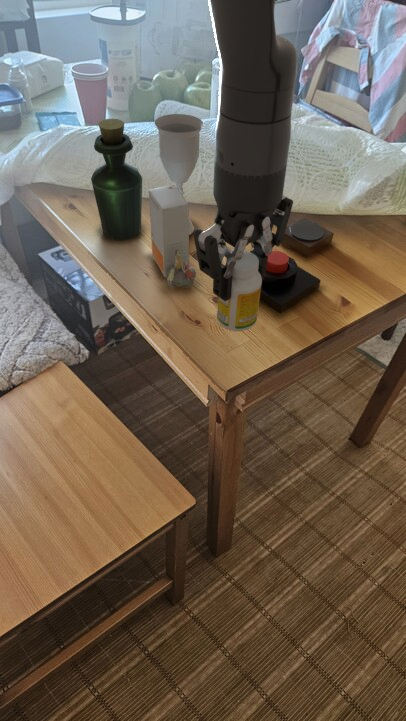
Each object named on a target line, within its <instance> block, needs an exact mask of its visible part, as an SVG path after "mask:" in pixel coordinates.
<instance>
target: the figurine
mask: <svg viewBox="0 0 406 721" xmlns="http://www.w3.org/2000/svg"><path fill="white" fill-rule="evenodd" d="M180 257H181V254H180V252H179V250H176V253H175V260H176V262H175V265H173V266H171V267H170V268H168V270H167V272H166V276H167V277H166V278H167V280H166V281H167V282H166V284H168V287H169V288H171V289H174V288H182V289H191V287H192V286H193V284H194V283H195V282H194V281H195V279H196V277H197V272H196V268H194V267H193V266H192V265H190V264H189V265H187V264H188V263H187V261H184V264H183V261H182V257H181V258H180ZM176 258H177V259H176Z"/></svg>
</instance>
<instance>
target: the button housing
mask: <svg viewBox="0 0 406 721" xmlns="http://www.w3.org/2000/svg"><path fill="white" fill-rule="evenodd" d="M288 257H289V262H288V268H287V271H286V272H284V273H279V274H275V273H270V272H268V271H266V272H265V277H264V279H263V280H262V284H261V292H260V299H259V301H260V302H262V303H263V304H265V305H267V306H268V307H270V309H272V310H274V311H275V312H277V313H278V314H282V313H283V312H285V311H286V310H288V309H289V308H291V307H293V306H294V305H296V304H298V303H299V302H300V301H302V300H304V299H305V298H306V297H308V296H309V295H311V294H312V293H314V292H317V290H318V289H320V285H321V281H322V280H321V279H320V278H318V277H317V276H315V275H313V274H311V273H310V272H308V271H307V270H305V269H304V268H302V267H300V266H299V265H298V264H297V262H296V261H295V259H294V258H293V257H291V256H289V255H288Z"/></svg>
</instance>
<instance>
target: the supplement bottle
mask: <svg viewBox="0 0 406 721" xmlns="http://www.w3.org/2000/svg"><path fill="white" fill-rule="evenodd" d="M226 261H227V258H226V257H225V262H226ZM258 266H259V260H258V258H257V256H256V255H254V254H253V253H250V251H247V250H244V252H243V255H242V258H241V260H239V261H236V264H235V267H234V269H233V272H232V290H231V298H230V299H229V300H227V301H224V300H222V299H221V298H219V297H218V296H217V307H216V308H217V309H216V318H217V322H218V324H219V325H220V326H221V327H222V328H223V329H225V330H227V331H230V332H245V331H247V330H250V329H251V328H253V327H254V326H255V325H256V324H257V321H258V315H259V314H258V313H259V306H260V300H259V299H260V292H261V284H262V278H261V275H260V273H259V272H258Z"/></svg>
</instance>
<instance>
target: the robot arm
mask: <svg viewBox="0 0 406 721" xmlns="http://www.w3.org/2000/svg"><path fill="white" fill-rule="evenodd" d="M291 1H292V0H207V2H208V6H209V11H210V16H211V21H212V28H213V32H214V33H213V34H214V38H215V43H216V48H217V51H218V57H219V64H220V68H219V69H220V71H219V88H218V90H219V91H218V95H219V96H218V112H217V120H216V125H215V131H214V132H215V134H214V159H213V160H214V161H213V162H214V163H213V187H212V188H213V189H212V190H213V191H212V192H213V194H212V196H213V198H214V201H215V203H216V207H217V212H216V216H215V217H214V221H213V225H212V226H210V227H209V228H208V229H206V230H203V229H202V228H197V229H196V230H194V232H193V241H194V246H195V250H196V251H195V252H196V258H197V262H198V269H199V271H200V272H202V273H203V274H205V275H207V277H209V278H211V279H212V281H213V282H212V293H213V294H214V295H215V296H217V298H218V297H219V298H221V299H222V300H224V301H227V300H229V299H230V298H231V290H232V272H233V269H234V267H235V264H236V261H239V260H241V258H242V255H243V252H244V251H246V250H245V249H246V247H247V246H248V245H249V244H250V245H251V248H252V250H250V251H249V252H250V253H253V254H254V255H256V256H257V258H258V260H259V266H258V272H259V273H260V275H261V278H262V280H263V279H264V277H265V272H266V269H267V261H268V256H269V255H270V254H271V253H272V251H273V248H274V247H275V246H276V247H280V246H281V245H282V244H281V243H282V241H283V238H284V234H285V230H286V227H287V226H288V223H289V220H290V215H291V213H292V208H293V205H294V199H292V198H289V197H288V196H286V195H284V188H285V182H286V174H287V167H288V162H289V155H290V154H289V152H290V146H291V138H292V113H293V112H292V111H293V105H294V97H295V90H296V81H297V76H298V63H299V62H298V51H297V49H296V46H295V44H294V43H292V41H291V40H290V39H288V38H285V37H284V36H281V35H278V34H277V32H276V31H277V30H276V21H275V7H276V6H275V5H278V4H282V3H286V2H287V3H288V2H291ZM274 226H275V227H276V231H275V232H273V228H274ZM227 244H228V245H229V246H231V247H233V249H232V248H231V247H229V246H228V245H227ZM224 257H225V259H226V258H227V261H226V260H225V264H224V263H223V260H224Z"/></svg>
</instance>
